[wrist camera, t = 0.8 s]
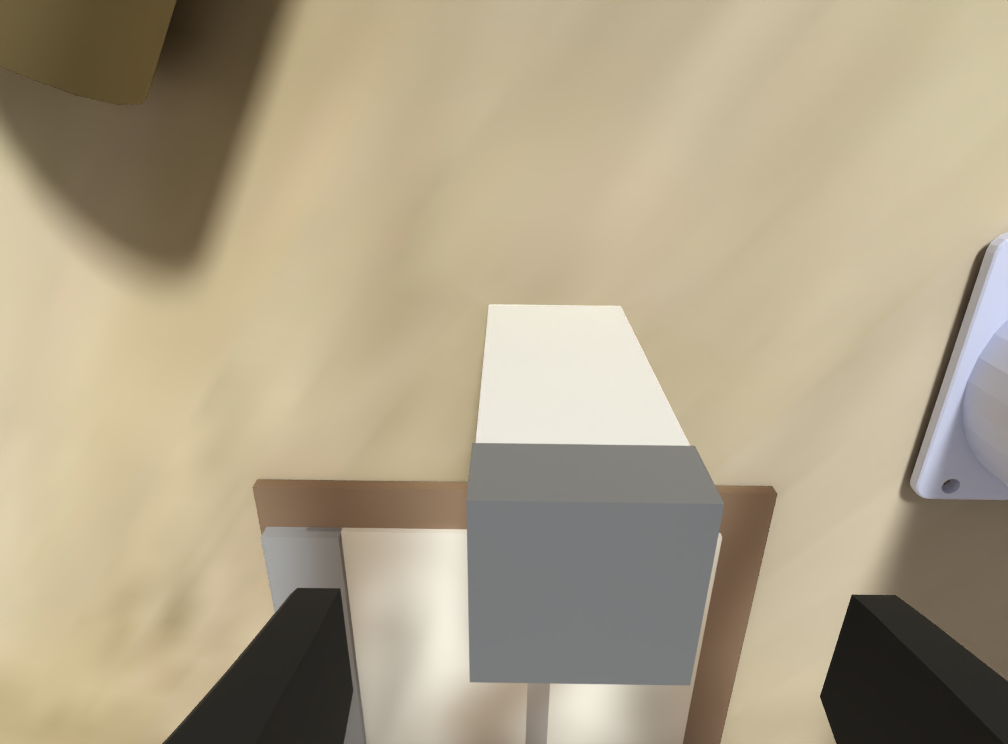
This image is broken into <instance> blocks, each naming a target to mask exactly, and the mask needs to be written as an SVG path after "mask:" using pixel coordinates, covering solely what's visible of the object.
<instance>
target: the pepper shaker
mask: <svg viewBox="0 0 1008 744" xmlns="http://www.w3.org/2000/svg"><path fill="white" fill-rule="evenodd" d="M176 1H177V0H0V66H1V67H3V68H6V69H8V70H10V71H12V72H14V73H17V74H19V75H22V76H25V77H28V78H31V79H33V80H36V81H39V82H42V83H44V84H47V85H50V86H53V87H55V88H58V89H61V90H64V91H66V92H69V93H72V94H75V95H78V96H82V97H87V98H91V99H95V100H99V101H104V102H108V103H112V104H117V105H126V104H142V102H143V101H144V99H145V98H146V97H147V95H148V93H149V89H150V86H151V83H152V79H153V76H154V73H155V70H156V66H157V63H158V60H159V56H160V53H161V50H162V47H163V43H164V40H165V37H166V33H167V30H168V27H169V24H170V20H171V17H172V14H173V10H174V7H175V4H176Z"/></svg>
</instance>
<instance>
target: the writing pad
mask: <svg viewBox="0 0 1008 744" xmlns="http://www.w3.org/2000/svg"><path fill="white" fill-rule="evenodd" d="M715 487H716V489H717V491H718V493H719V495H720V497H721V498H722V500H723V502H724V508H723V514H722V519H721V524H720V530H719V535H718V540H717V546H716V551H715V556H714V562H713V567H712V572H711V578H710V583H709V588H708V593H707V599H706V604H705V609H704V615H703V620H702V625H701V631H700V636H699V641H698V647H697V652H696V657H695V663H694V668H693V673H692V678H691V684H690V686H689V685H620V684H550V683H480V682H470V674H469V617H468V561H467V504H466V500H467V490H468V482H409V481H335V480H260V479H257V481H256V483H255V484H254V486H253V491H254V497H255V502H256V507H257V513H258V518H259V524H260V529H261V534H262V536H261V541H262V547H263V552H264V557H265V563H266V568H267V573H268V579H269V584H270V589H271V595H272V600H273V605H274V611H275V612H276V611H277V610H278V609H279V607H280V606H281V605H282V604H283V602H284V601H285V600H286V599H287V598H288V596H289V595H290V594H291V593H292V592H293V591H294V590H295V589H297V588H340V589H341V597H342V605H343V613H344V621H345V629H346V636H347V644H348V652H349V660H350V668H351V676H352V684H353V695H352V701H351V706H350V712H349V718H348V723H347V729H346V734H345V739H344V744H720V742H721V737H722V733H723V729H724V724H725V720H726V715H727V711H728V707H729V702H730V698H731V694H732V689H733V685H734V681H735V676H736V672H737V667H738V663H739V659H740V654H741V650H742V646H743V641H744V637H745V633H746V628H747V624H748V619H749V615H750V611H751V606H752V602H753V598H754V593H755V589H756V584H757V580H758V576H759V571H760V567H761V563H762V558H763V554H764V550H765V545H766V541H767V536H768V532H769V528H770V523H771V519H772V515H773V510H774V506H775V501H776V497H777V493H776V491H775V490H774V488H773V487H772V486H715Z"/></svg>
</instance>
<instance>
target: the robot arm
mask: <svg viewBox="0 0 1008 744" xmlns="http://www.w3.org/2000/svg"><path fill="white" fill-rule="evenodd" d="M950 479H951V480H950ZM947 480H950V482H949V483H947V484H946V485H943V484H944V482H946V481H947ZM910 485H911V488H912V489H913V490H914V491H915V492H916V493H917V494H918V495H919V496H920V497H922V498H926V499H968V500H1008V233H1003V234H1002V235H1000V236H998V237H996V238H995V239H994V240H993V241H992V242H991V243H990V245H989V246H988V248H987V250H986V253H985V256H984V259H983V262H982V265H981V268H980V271H979V274H978V277H977V280H976V283H975V286H974V289H973V292H972V295H971V298H970V301H969V304H968V307H967V310H966V313H965V316H964V319H963V322H962V325H961V328H960V331H959V334H958V337H957V340H956V343H955V346H954V349H953V352H952V355H951V358H950V361H949V365H948V368H947V371H946V374H945V377H944V380H943V383H942V386H941V389H940V392H939V395H938V398H937V401H936V404H935V407H934V410H933V413H932V416H931V419H930V422H929V425H928V428H927V431H926V434H925V437H924V440H923V443H922V446H921V449H920V452H919V455H918V458H917V461H916V464H915V467H914V470H913V473H912V476H911V480H910ZM942 485H943V486H942ZM352 695H353V684H352V676H351V668H350V660H349V652H348V644H347V636H346V629H345V621H344V613H343V605H342V597H341V589H340V588H297V589H295V590H294V591H293V592H292V593H291V594H290V595H289V596H288V598H287V599H286V600H285V601H284V602H283V604H282V605H281V606H280V607H279V609H278V610H277V611H276V612H275V614H274V615H273V616H272V617H271V619H270V620H269V621H268V622H267V623H266V625H265V626H264V627H263V628H262V630H261V631H260V632H259V633H258V635H257V636H256V637H255V638H254V639H253V641H252V642H251V643H250V644H249V645H248V647H247V648H246V649H245V650H244V651H243V653H242V654H241V655H240V656H239V657H238V659H237V660H236V661H235V662H234V663H233V664H232V666H231V667H230V668H229V669H228V670H227V672H226V673H225V674H224V675H223V676H222V677H221V679H220V680H219V681H218V682H217V683H216V684H215V685H214V687H213V688H212V689H211V690H210V691H209V692H208V693H207V694H206V696H205V697H204V698H203V699H202V700H201V701H200V702H199V704H198V705H197V706H196V707H195V708H194V709H193V710H192V712H191V713H190V714H189V715H188V716H187V717H186V718H185V719H184V721H183V722H182V723H181V724H180V725H179V726H178V727H177V728H176V729H175V731H174V732H173V733H172V734H171V735H170V736H169V737H168V738H167V739H166V740H165V741H164V742H163V744H344V739H345V734H346V729H347V723H348V718H349V712H350V706H351V701H352ZM820 698H821V701H822V704H823V706H824V709H825V712H826V715H827V718H828V721H829V724H830V727H831V729H832V732H833V735H834V738H835V741H836V743H837V744H1008V682H1007V681H1006V680H1005V679H1004V678H1002V677H1001V676H1000V675H999V674H997V673H996V672H995V671H993V670H992V669H991V668H990V667H988V666H987V665H986V664H985V663H983V662H982V661H981V660H979V659H978V658H977V657H976V656H974V655H973V654H972V653H970V652H969V651H968V650H967V649H965V648H964V647H963V646H962V645H960V644H959V643H958V642H956V641H955V640H954V639H953V638H951V637H950V636H949V635H948V634H946V633H945V632H944V631H942V630H941V629H940V628H939V627H937V626H936V625H935V624H933V623H932V622H931V621H929V620H928V619H927V618H926V617H924V616H923V615H922V614H920V613H919V612H918V611H916V610H915V609H914V608H912V607H911V606H910V605H908V604H907V603H905V602H904V601H903V600H901V599H900V598H899V597H897V596H896V595H852V596H851V599H850V602H849V606H848V609H847V612H846V615H845V618H844V622H843V625H842V628H841V631H840V634H839V638H838V641H837V644H836V647H835V650H834V653H833V657H832V660H831V663H830V666H829V669H828V673H827V676H826V679H825V682H824V685H823V689H822V692H821V695H820Z"/></svg>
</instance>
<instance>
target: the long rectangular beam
mask: <svg viewBox="0 0 1008 744" xmlns="http://www.w3.org/2000/svg"><path fill="white" fill-rule="evenodd" d="M466 504H467V561H468V617H469V674H470V682H480V683H550V684H620V685H689V686H690V684H691V678H692V673H693V668H694V663H695V657H696V652H697V647H698V641H699V636H700V631H701V625H702V620H703V615H704V609H705V604H706V599H707V593H708V588H709V583H710V578H711V572H712V567H713V562H714V556H715V551H716V546H717V540H718V535H719V530H720V524H721V519H722V514H723V508H724V502H723V500H722V498H721V497H720V495H719V493H718V491H717V489H716V487H715V485H714V483H713V481H712V479H711V477H710V475H709V473H708V471H707V469H706V467H705V465H704V463H703V461H702V459H701V457H700V455H699V453H698V451H697V449H696V447H695V446H690V445H689V443H688V441H687V439H686V437H685V435H684V433H683V431H682V429H681V427H680V425H679V423H678V421H677V419H676V416H675V414H674V412H673V410H672V408H671V406H670V404H669V402H668V400H667V398H666V396H665V394H664V392H663V390H662V388H661V386H660V384H659V382H658V380H657V378H656V376H655V374H654V372H653V370H652V368H651V366H650V364H649V362H648V360H647V358H646V356H645V354H644V352H643V350H642V348H641V346H640V344H639V342H638V340H637V338H636V336H635V334H634V332H633V330H632V328H631V326H630V324H629V322H628V320H627V318H626V316H625V314H624V312H623V310H622V308H621V306H587V305H506V304H489V307H488V318H487V329H486V339H485V350H484V360H483V371H482V381H481V392H480V403H479V413H478V424H477V434H476V443H472V452H471V461H470V471H469V481H468V490H467V500H466Z"/></svg>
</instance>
